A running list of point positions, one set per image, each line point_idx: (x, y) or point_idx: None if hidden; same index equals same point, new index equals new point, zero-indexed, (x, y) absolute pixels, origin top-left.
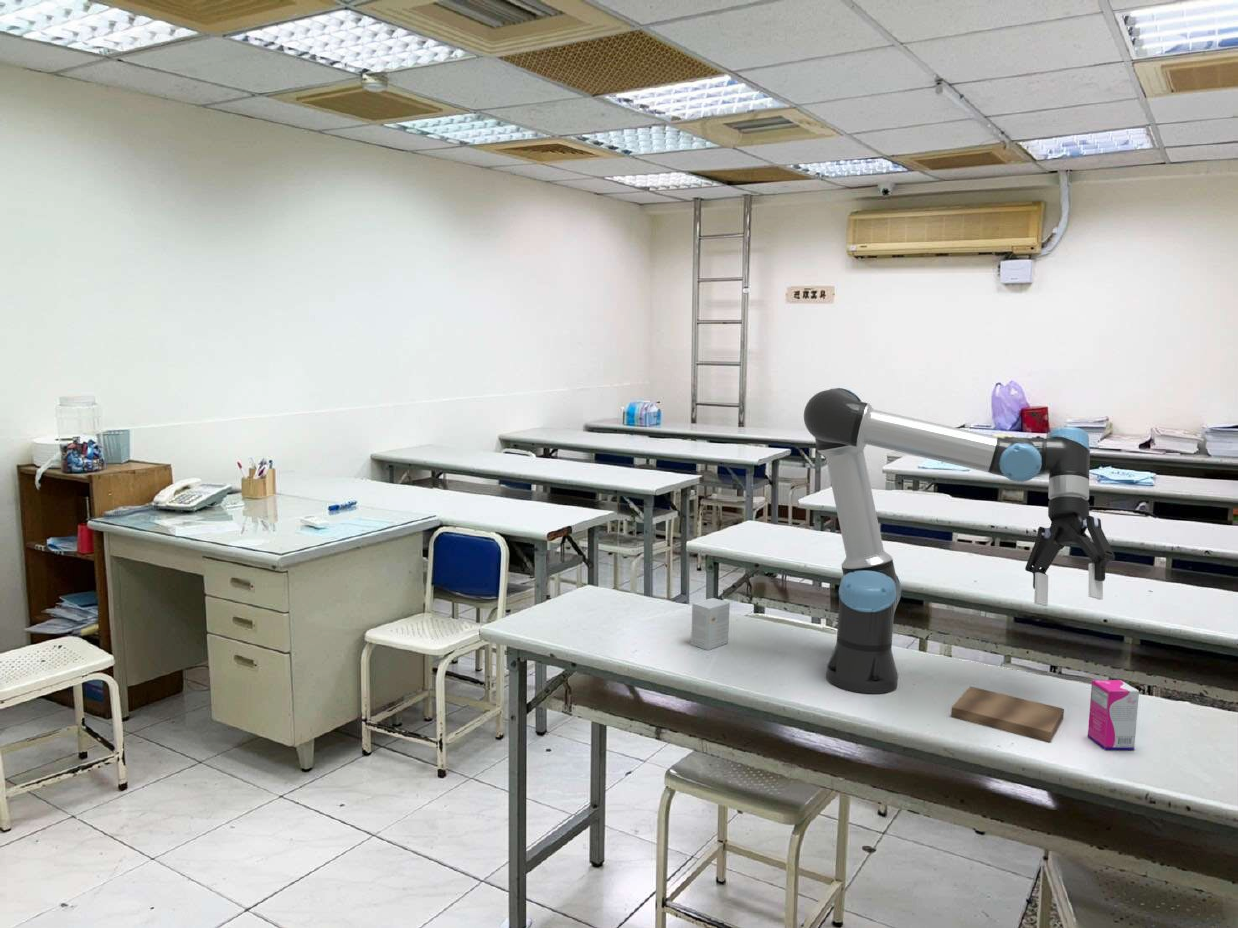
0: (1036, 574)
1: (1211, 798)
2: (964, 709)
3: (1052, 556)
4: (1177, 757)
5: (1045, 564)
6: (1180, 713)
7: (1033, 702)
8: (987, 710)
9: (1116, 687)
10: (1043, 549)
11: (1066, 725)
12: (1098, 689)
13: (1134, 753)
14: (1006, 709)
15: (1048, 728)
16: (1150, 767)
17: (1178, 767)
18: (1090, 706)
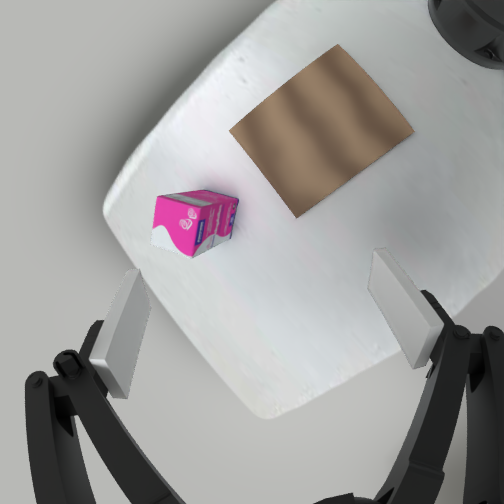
0: (433, 319)
1: (111, 212)
2: (325, 56)
3: (409, 435)
4: (175, 262)
5: (428, 386)
6: (272, 381)
7: (330, 187)
8: (316, 87)
9: (164, 219)
10: (476, 451)
11: (277, 200)
12: (185, 201)
13: None
14: (314, 119)
15: (240, 135)
16: None
17: None
18: (218, 202)
